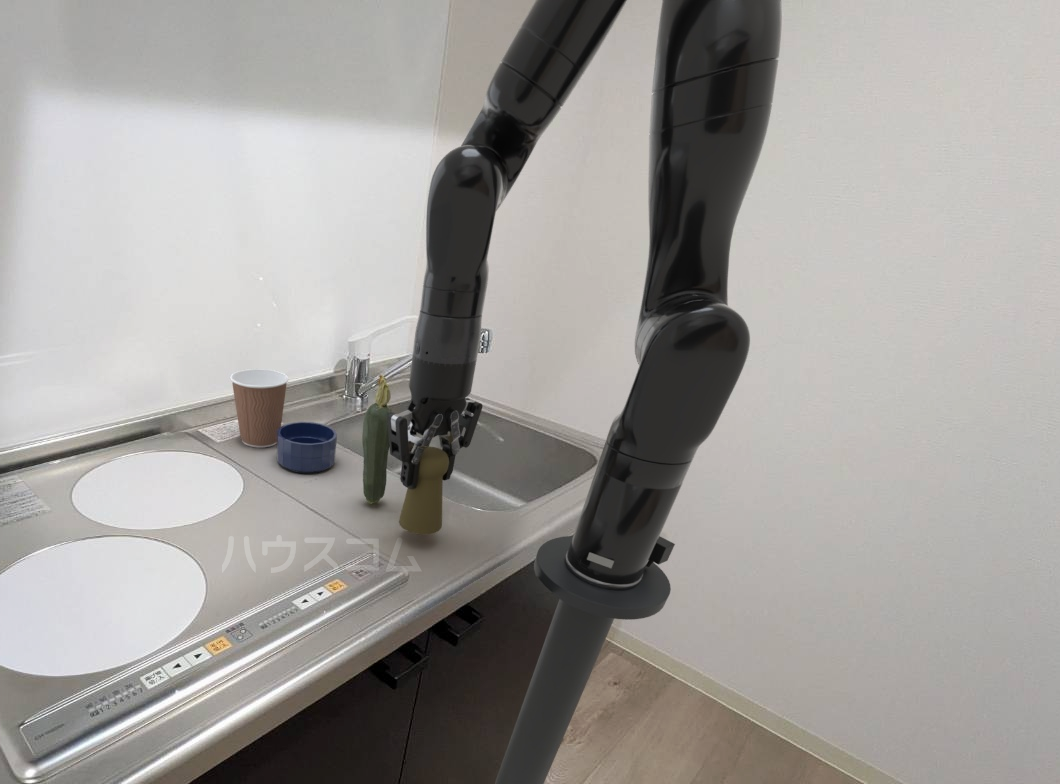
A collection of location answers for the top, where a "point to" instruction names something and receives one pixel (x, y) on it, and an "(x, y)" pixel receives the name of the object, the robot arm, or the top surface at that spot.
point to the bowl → (306, 446)
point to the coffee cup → (259, 405)
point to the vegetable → (376, 444)
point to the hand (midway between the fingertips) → (426, 481)
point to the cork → (426, 495)
